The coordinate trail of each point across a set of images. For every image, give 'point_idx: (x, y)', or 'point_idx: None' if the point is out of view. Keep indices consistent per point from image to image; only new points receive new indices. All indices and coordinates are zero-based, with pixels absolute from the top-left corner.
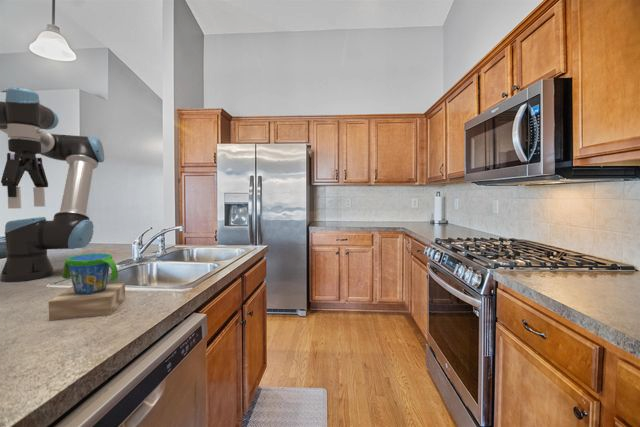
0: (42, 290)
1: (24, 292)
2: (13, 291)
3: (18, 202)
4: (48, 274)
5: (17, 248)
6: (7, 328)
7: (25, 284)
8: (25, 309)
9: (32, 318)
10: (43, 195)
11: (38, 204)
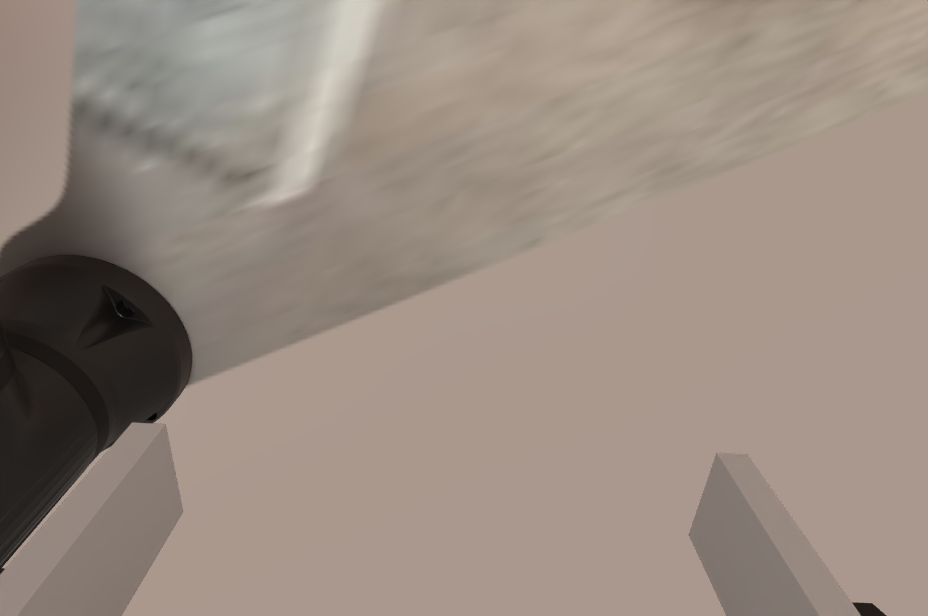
0: (373, 186)
1: (386, 246)
2: (356, 294)
3: (784, 519)
4: (94, 263)
5: (73, 448)
6: (873, 108)
7: (244, 297)
8: (658, 140)
9: (802, 63)
10: (58, 563)
11: (163, 495)
